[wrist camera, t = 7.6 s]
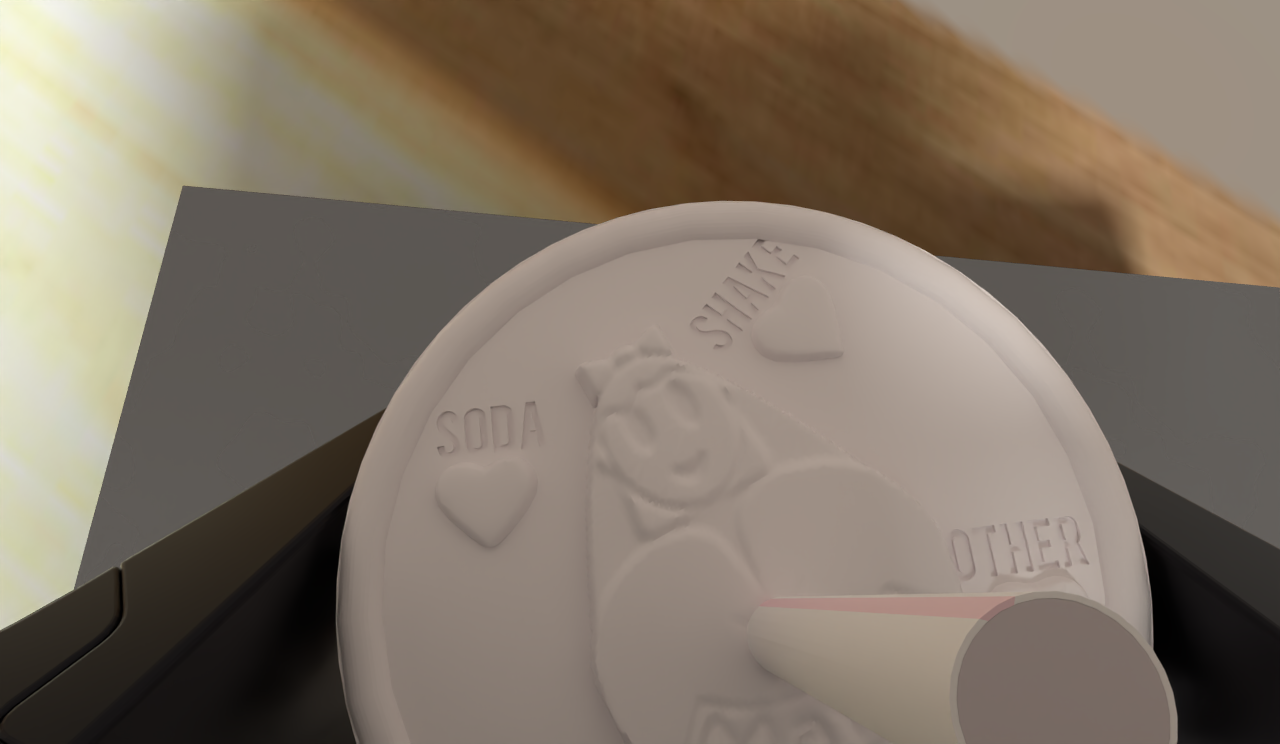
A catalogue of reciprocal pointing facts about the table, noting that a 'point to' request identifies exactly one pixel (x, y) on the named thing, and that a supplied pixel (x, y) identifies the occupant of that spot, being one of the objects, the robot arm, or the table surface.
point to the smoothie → (743, 508)
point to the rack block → (493, 244)
